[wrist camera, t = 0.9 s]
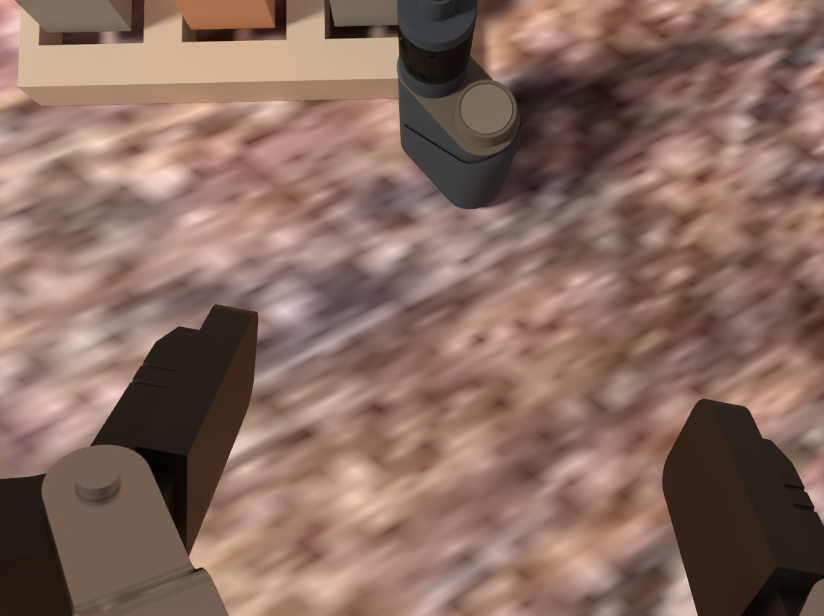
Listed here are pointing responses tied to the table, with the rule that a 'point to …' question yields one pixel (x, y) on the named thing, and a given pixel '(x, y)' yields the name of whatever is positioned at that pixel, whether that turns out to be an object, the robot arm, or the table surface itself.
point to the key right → (364, 12)
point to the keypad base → (207, 64)
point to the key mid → (228, 13)
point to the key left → (80, 15)
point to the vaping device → (452, 103)
